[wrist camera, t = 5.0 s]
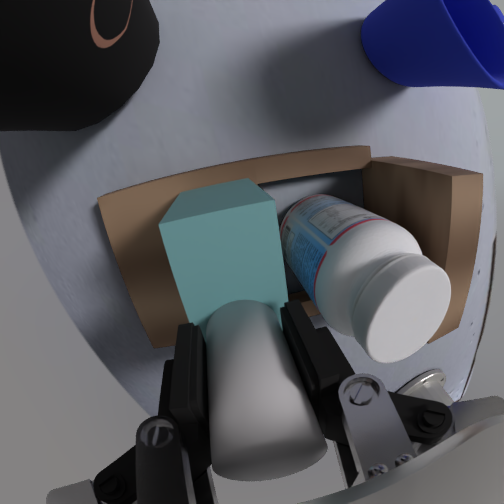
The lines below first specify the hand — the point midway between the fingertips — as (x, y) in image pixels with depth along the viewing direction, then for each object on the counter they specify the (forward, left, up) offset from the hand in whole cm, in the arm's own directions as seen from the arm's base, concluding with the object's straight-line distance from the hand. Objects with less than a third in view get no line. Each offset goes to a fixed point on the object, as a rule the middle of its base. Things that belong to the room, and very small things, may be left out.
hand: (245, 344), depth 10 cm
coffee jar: (+16, +7, -10) cm, 20 cm away
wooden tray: (0, -3, -10) cm, 10 cm away
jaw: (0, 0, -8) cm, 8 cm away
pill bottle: (0, -7, -10) cm, 12 cm away
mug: (+15, -17, -10) cm, 25 cm away
